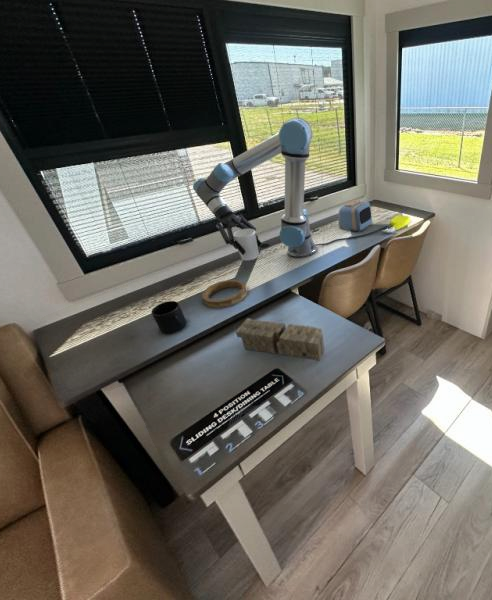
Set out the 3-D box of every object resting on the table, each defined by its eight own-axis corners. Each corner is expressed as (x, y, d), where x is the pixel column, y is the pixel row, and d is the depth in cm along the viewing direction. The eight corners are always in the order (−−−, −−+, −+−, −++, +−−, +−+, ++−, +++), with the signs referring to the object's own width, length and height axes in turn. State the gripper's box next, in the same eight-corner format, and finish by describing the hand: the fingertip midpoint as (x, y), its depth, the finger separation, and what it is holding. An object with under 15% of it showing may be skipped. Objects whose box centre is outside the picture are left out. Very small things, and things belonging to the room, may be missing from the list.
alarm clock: (359, 233, 190) (358, 206, 181) (337, 228, 198) (335, 203, 189) (373, 224, 201) (372, 199, 192) (351, 220, 209) (350, 196, 200)
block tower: (327, 347, 109) (252, 334, 115) (325, 328, 104) (247, 316, 111) (319, 363, 102) (240, 348, 109) (317, 344, 98) (234, 330, 104)
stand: (245, 281, 149) (244, 276, 147) (248, 301, 134) (246, 295, 133) (205, 290, 144) (203, 285, 143) (204, 311, 130) (201, 305, 128)
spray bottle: (411, 220, 201) (397, 235, 184) (395, 219, 206) (380, 233, 188) (411, 216, 199) (397, 230, 182) (395, 214, 204) (380, 228, 187)
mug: (173, 339, 116) (163, 320, 111) (156, 329, 122) (146, 311, 117) (196, 325, 122) (187, 306, 117) (178, 316, 128) (169, 298, 123)
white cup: (238, 254, 151) (231, 231, 144) (258, 250, 154) (253, 227, 147) (240, 263, 143) (233, 238, 136) (262, 258, 146) (256, 233, 139)
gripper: (237, 208, 153) (267, 244, 154) (198, 222, 139) (231, 262, 140) (242, 198, 147) (272, 236, 148) (201, 212, 133) (235, 254, 134)
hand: (252, 249), depth 144 cm, fingers closed on white cup, 9 cm apart
